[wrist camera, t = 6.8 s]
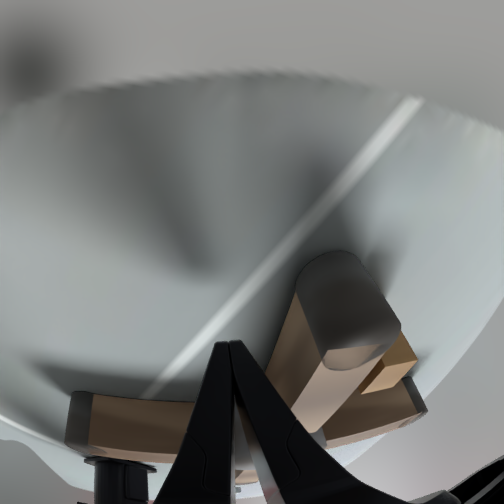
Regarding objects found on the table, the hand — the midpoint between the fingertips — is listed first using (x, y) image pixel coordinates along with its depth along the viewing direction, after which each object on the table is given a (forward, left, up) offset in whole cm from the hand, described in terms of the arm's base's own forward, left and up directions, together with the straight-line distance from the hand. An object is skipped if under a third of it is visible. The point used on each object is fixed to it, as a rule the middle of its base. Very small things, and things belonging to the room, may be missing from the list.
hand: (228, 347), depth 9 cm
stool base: (-5, -10, -2) cm, 11 cm away
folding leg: (+2, -3, -2) cm, 4 cm away
